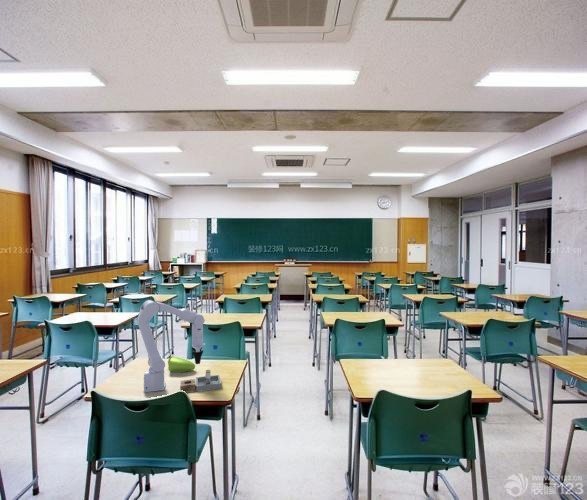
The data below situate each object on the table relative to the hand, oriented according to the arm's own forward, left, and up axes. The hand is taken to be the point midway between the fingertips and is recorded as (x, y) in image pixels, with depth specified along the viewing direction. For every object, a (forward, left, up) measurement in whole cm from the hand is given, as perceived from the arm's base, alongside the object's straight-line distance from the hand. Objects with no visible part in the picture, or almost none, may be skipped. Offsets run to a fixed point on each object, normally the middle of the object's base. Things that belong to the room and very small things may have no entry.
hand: (197, 361), depth 180 cm
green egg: (-10, +16, -10) cm, 22 cm away
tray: (+5, -10, -9) cm, 15 cm away
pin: (+5, -10, -9) cm, 14 cm away
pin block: (-5, -11, -9) cm, 15 cm away
